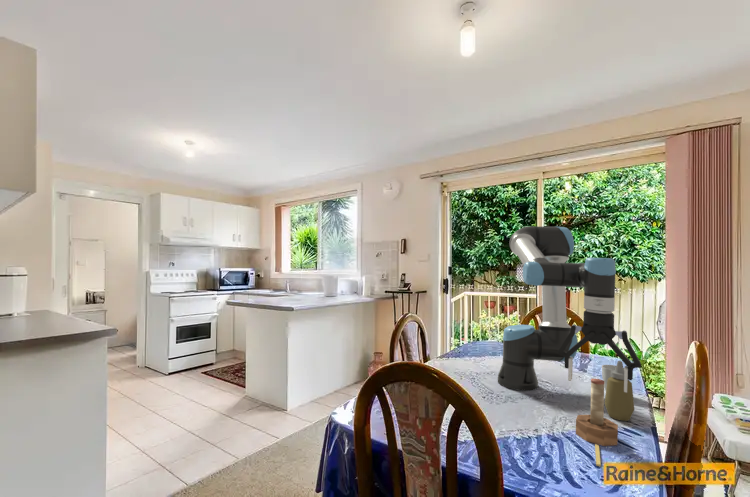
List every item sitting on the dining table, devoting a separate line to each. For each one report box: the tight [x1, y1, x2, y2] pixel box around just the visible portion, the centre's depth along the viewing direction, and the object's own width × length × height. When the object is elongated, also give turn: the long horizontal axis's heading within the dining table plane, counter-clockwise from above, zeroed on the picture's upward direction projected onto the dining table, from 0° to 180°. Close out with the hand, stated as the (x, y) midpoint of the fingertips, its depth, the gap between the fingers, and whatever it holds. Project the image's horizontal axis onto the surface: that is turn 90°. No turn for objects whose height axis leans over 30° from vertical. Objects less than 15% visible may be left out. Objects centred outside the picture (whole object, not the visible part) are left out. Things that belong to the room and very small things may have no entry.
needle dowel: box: [589, 378, 605, 426], centre depth 104 cm, size 3×3×16 cm
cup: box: [601, 364, 617, 392], centre depth 138 cm, size 8×8×10 cm
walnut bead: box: [575, 414, 619, 447], centre depth 104 cm, size 10×10×4 cm
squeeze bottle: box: [604, 360, 635, 422], centre depth 118 cm, size 8×8×18 cm
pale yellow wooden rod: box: [594, 443, 601, 468], centre depth 93 cm, size 11×1×1 cm, turn 150°
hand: (596, 385), depth 105 cm, fingers open, 13 cm apart
